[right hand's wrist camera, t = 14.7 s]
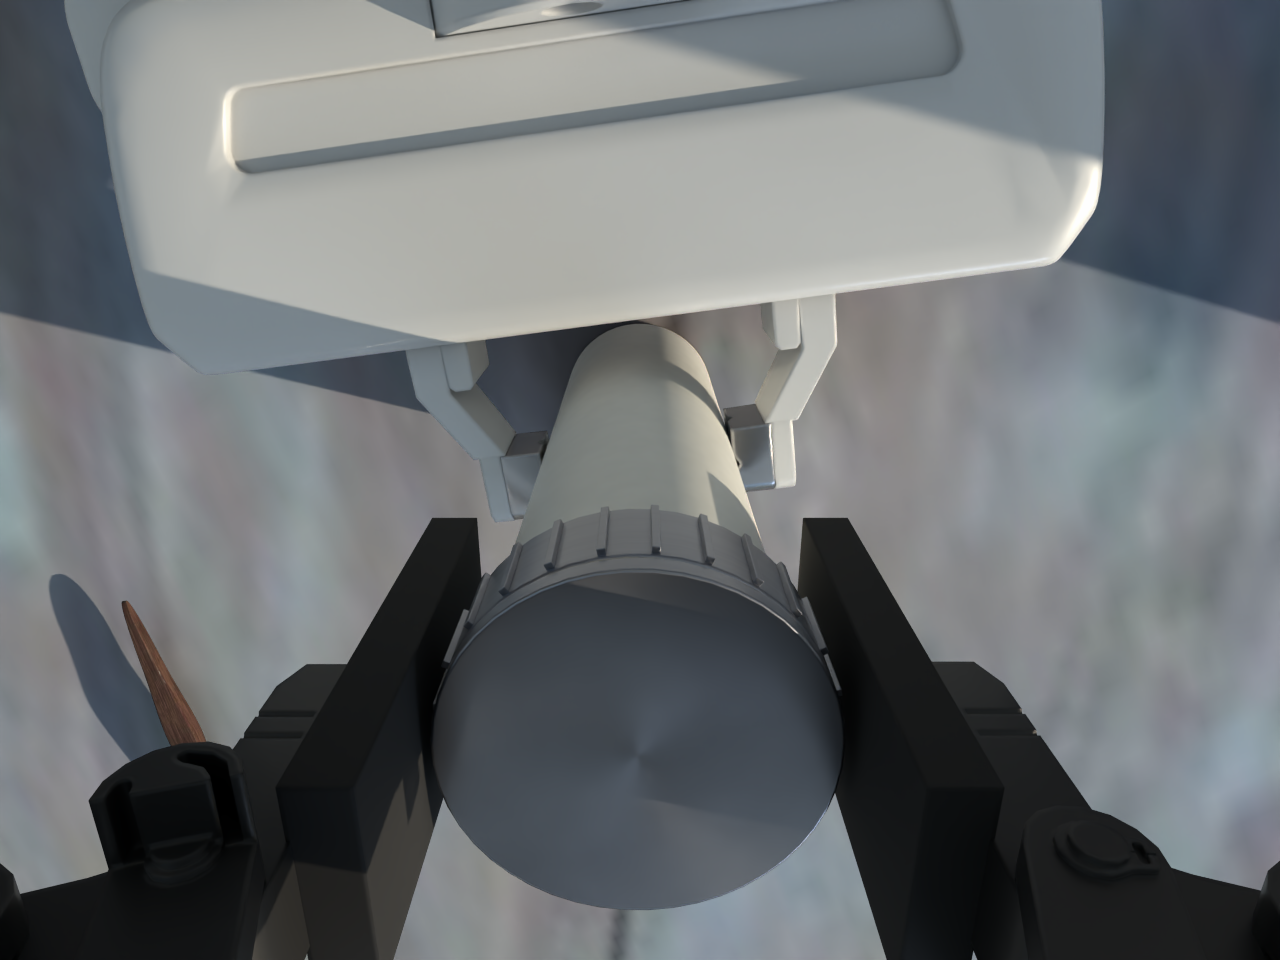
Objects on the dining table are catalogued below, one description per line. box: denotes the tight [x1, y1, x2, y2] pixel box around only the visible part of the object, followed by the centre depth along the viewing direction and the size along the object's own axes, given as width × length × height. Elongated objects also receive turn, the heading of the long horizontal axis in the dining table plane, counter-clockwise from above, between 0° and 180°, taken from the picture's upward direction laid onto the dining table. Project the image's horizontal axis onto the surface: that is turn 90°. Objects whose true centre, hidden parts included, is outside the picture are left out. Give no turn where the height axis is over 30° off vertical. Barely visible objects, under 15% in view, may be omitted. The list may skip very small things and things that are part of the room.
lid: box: [430, 505, 846, 910], centre depth 11 cm, size 5×5×2 cm
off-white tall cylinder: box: [515, 324, 765, 553], centre depth 19 cm, size 5×5×17 cm
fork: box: [122, 601, 206, 746], centre depth 31 cm, size 3×16×2 cm, turn 10°
